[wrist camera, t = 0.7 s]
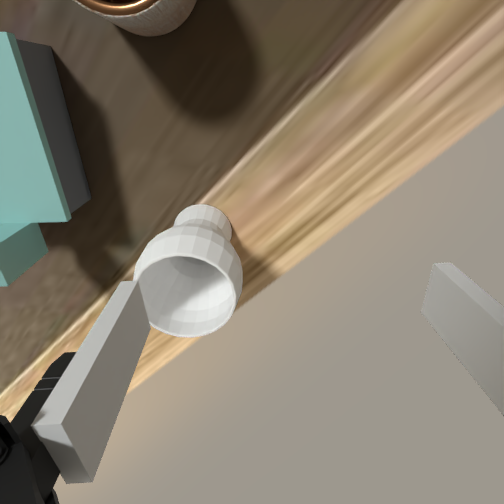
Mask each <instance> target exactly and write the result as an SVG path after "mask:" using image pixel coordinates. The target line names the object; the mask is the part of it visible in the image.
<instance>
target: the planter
mask: <svg viewBox="0 0 504 504" xmlns="http://www.w3.org/2000/svg"><path fill="white" fill-rule="evenodd" d="M74 1H75V2H76V3H78V4H79V5H81V6H82V7H84V8H86V9H87V10H89V11H91V12H93V13H95V14H97V15H99V16H101V17H103V18H104V19H106V20H108V21H110V22H112V23H113V24H115V25H117V26H119V27H121V28H123V29H125V30H127V31H129V32H131V33H134V34H137V35H141V36H159V35H164V34H167V33H169V32H171V31H173V30H175V29H176V28H178V27H179V26H180V25H181V24H182V23H183V22H184V21H185V20H186V19H187V18H188V16H189V15H190V13H191V12H192V10H193V8H194V6H195V3H196V1H197V0H74Z"/></svg>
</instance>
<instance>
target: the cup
mask: <svg viewBox="0 0 504 504" xmlns="http://www.w3.org/2000/svg"><path fill="white" fill-rule="evenodd" d="M231 234H232V229H231V225H230V222H229V220H228V219H227V217H226V216H225V215H224V214H223V213H222V212H221V211H220V210H218V209H217V208H215V207H212V206H209V205H203V204H198V205H192V206H190V207H187V208H185V209H184V210H183V211H182V212H180V213H179V215H178V216H177V218H176V219H175V223H174V227H172V228H170V229H168V230H166V231H164V232H162V233H160V234H158V235H157V236H156V237H154V238H153V239H152V240H151V241H150V242H149V243H148V244H147V246H146V248H145V249H144V251H143V253H142V254H141V256H140V258H139V259H138V261H137V263H136V267H135V271H134V277H133V281H137V280H138V282H139V286H140V289H141V293H142V297H143V301H144V305H145V309H146V312H147V316H148V320H149V324H150V325H151V326H152V327H154V328H155V329H157V330H159V331H161V332H164V333H166V334H169V335H173V336H177V337H190V338H192V337H199V336H204V335H207V334H210V333H212V332H215V331H216V330H218V329H219V328H221V327H222V326H223V325H225V324H226V322H227V321H228V320H229V319H230V318H231V317H232V314H233V312H234V310H235V307H236V305H237V302H238V300H239V298H240V295H241V293H242V283H243V270H242V266H241V261H240V258H239V256H238V254H237V253H236V251H235V249H234V247H233V246H232V244H231V243H230V240H231Z"/></svg>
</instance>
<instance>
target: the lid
mask: <svg viewBox="0 0 504 504" xmlns="http://www.w3.org/2000/svg"><path fill="white" fill-rule="evenodd" d="M70 219H71V214H70V211H69V208H68V205H67V202H66V198H65V195H64V192H63V189H62V186H61V182H60V179H59V176H58V173H57V170H56V166H55V163H54V160H53V157H52V154H51V150H50V147H49V144H48V141H47V138H46V134H45V131H44V128H43V125H42V122H41V118H40V115H39V112H38V109H37V105H36V102H35V99H34V96H33V93H32V89H31V86H30V83H29V80H28V77H27V73H26V70H25V67H24V64H23V61H22V57H21V54H20V51H19V48H18V45H17V41H16V38H15V35H14V34H13V33H9V32H0V286H9V285H10V284H11V283H12V282H13V281H15V280H16V279H17V278H18V277H19V276H21V275H22V274H23V273H24V272H25V271H26V270H28V269H29V268H30V267H31V266H32V265H33V264H35V263H36V262H37V261H38V260H39V259H40V258H42V257H43V256H44V255H45V254H46V253H47V252H48V249H47V246H46V244H45V241H44V238H43V235H42V233H41V230H40V227H39V225H38V223H41V222H68V221H69V220H70Z"/></svg>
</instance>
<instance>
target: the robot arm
mask: <svg viewBox="0 0 504 504" xmlns="http://www.w3.org/2000/svg"><path fill="white" fill-rule="evenodd" d="M421 313H422V315H423V316H424V317H425V318H426V320H427V321H428V322H429V323H430V325H431V326H432V327H433V328H434V329H435V331H436V332H437V333H438V334H439V336H440V337H441V338H442V340H443V341H444V342H445V343H446V345H447V346H448V347H449V348H450V349H451V351H452V352H453V353H454V355H456V357H457V358H458V360H459V361H460V362H461V363H462V365H463V366H464V367H465V368H466V370H467V371H468V372H469V373H470V375H471V376H472V377H473V378H474V380H475V381H476V382H477V383H478V385H480V387H481V388H482V389H483V391H484V392H485V393H486V394H487V396H488V397H489V398H490V399H491V401H492V402H493V403H494V404H495V406H496V407H497V408H498V409H499V411H500V412H501V413H502V414H503V416H504V306H502V305H501V304H500V303H499V302H498V301H497V300H495V299H494V298H493V297H492V296H491V295H489V294H488V293H487V292H486V291H485V290H483V289H482V288H481V287H480V286H479V285H477V284H476V283H475V282H474V281H472V280H471V279H470V278H469V277H468V276H467V275H465V274H464V273H463V272H462V271H460V270H459V269H458V268H457V267H456V266H454V265H453V264H452V263H450V262H448V263H434V264H433V267H432V271H431V275H430V279H429V283H428V287H427V290H426V294H425V299H424V302H423V306H422V310H421ZM150 329H151V328H150V324H149V320H148V316H147V312H146V309H145V305H144V301H143V297H142V293H141V289H140V286H139V282H138V280H137V281H121V282H120V284H119V285H118V287H117V288H116V290H115V292H114V293H113V295H112V296H111V298H110V300H109V301H108V303H107V304H106V306H105V308H104V309H103V311H102V312H101V314H100V316H99V317H98V319H97V320H96V322H95V324H94V325H93V327H92V328H91V330H90V332H89V333H88V335H87V336H86V338H85V340H84V341H83V343H82V344H81V346H80V348H79V349H78V351H77V352H68V353H64V354H62V355H61V356H60V357H59V358H58V359H57V360H55V361H54V362H53V363H52V364H51V365H50V367H49V368H48V369H47V371H46V372H45V374H44V375H43V377H42V380H40V381H39V382H38V384H37V385H36V387H35V388H34V391H32V393H31V394H30V395H29V397H28V398H27V400H26V401H25V403H24V404H23V406H22V407H21V408H20V410H19V411H18V413H17V414H16V416H15V417H14V419H13V420H12V422H11V423H10V422H9V421H8V420H7V418H6V417H5V416H2V415H0V504H59V502H58V498H57V494H56V492H55V491H54V489H53V487H54V484H55V482H56V480H57V478H58V476H59V474H61V476H62V477H63V479H64V481H65V482H66V484H70V483H86V482H93V479H94V477H95V474H96V471H97V469H98V466H99V463H100V461H101V458H102V456H103V453H104V450H105V448H106V445H107V442H108V440H109V437H110V434H111V432H112V429H113V426H114V424H115V421H116V418H117V416H118V413H119V411H120V408H121V405H122V402H123V400H124V397H125V395H126V392H127V390H128V387H129V384H130V382H131V379H132V376H133V374H134V371H135V368H136V366H137V363H138V360H139V358H140V355H141V353H142V350H143V347H144V345H145V342H146V339H147V337H148V334H149V331H150Z"/></svg>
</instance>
